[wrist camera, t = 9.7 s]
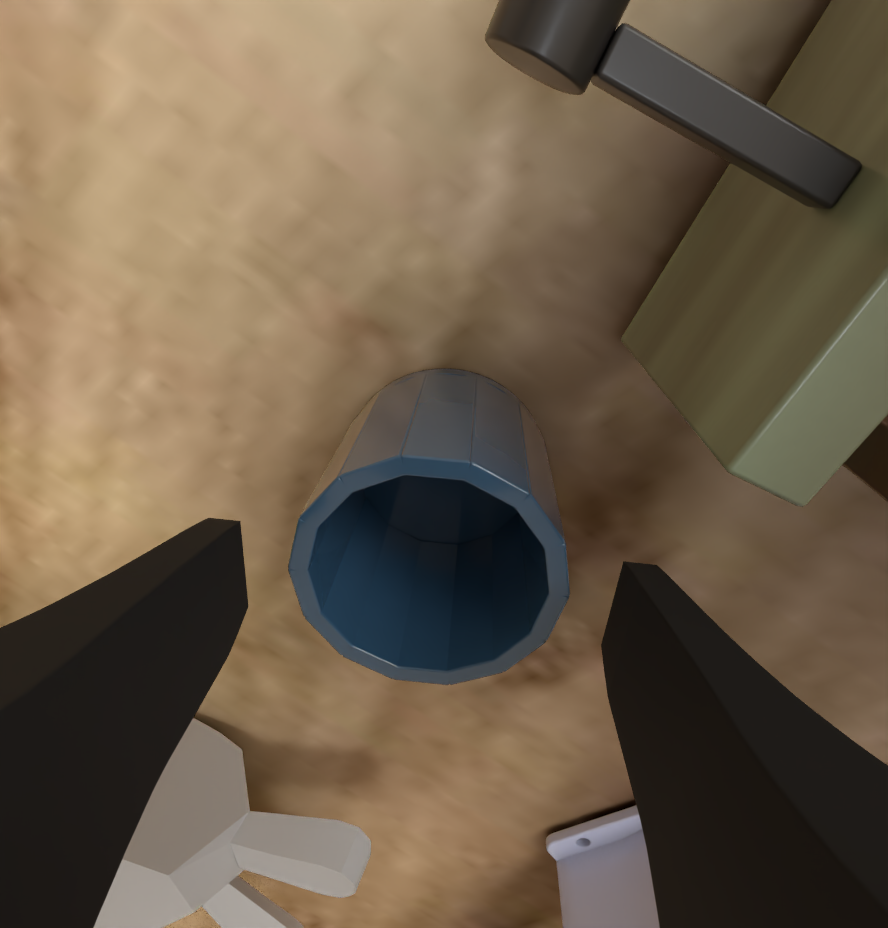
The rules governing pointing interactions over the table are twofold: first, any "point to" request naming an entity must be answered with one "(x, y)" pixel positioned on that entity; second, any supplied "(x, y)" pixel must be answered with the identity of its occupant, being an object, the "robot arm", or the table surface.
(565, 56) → the drawer
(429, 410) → the cup
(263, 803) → the table surface
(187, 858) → the grey branched angular piece
